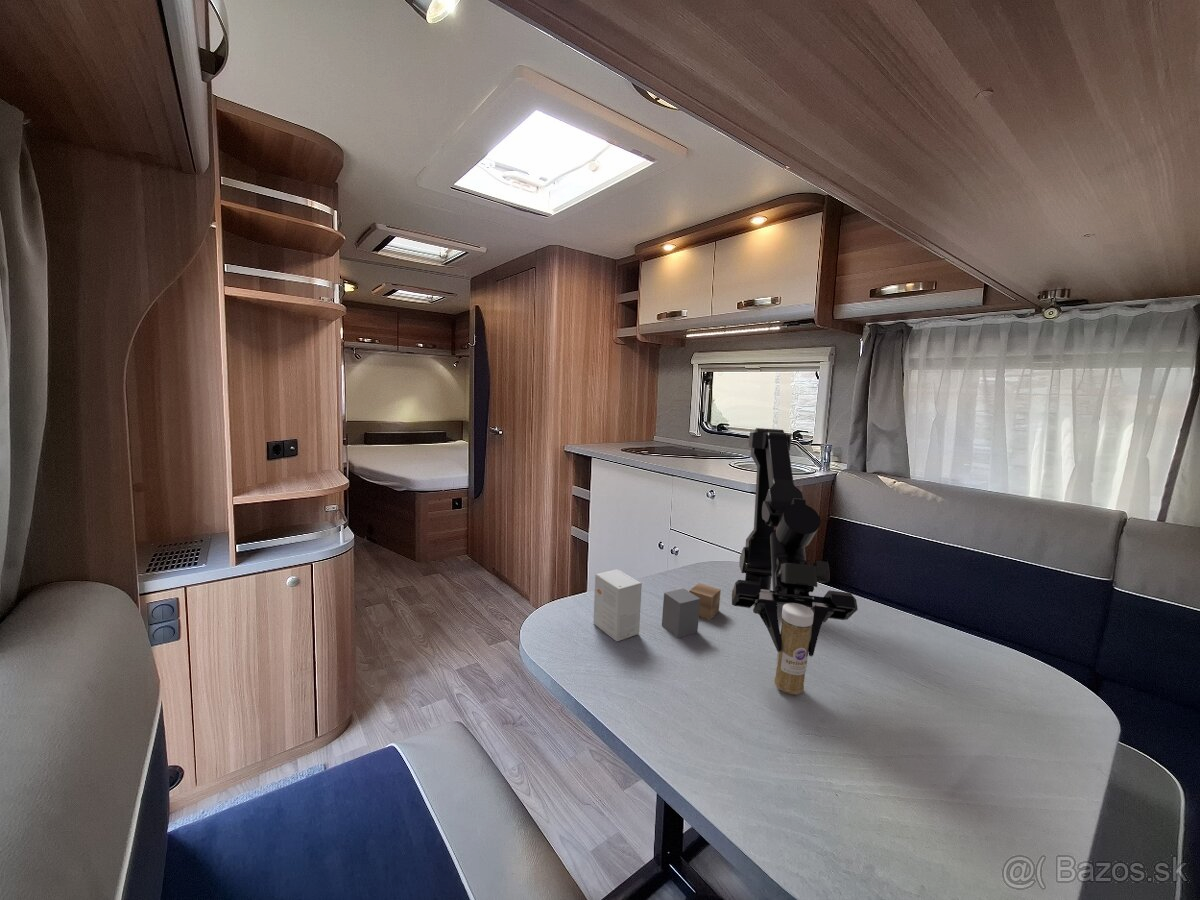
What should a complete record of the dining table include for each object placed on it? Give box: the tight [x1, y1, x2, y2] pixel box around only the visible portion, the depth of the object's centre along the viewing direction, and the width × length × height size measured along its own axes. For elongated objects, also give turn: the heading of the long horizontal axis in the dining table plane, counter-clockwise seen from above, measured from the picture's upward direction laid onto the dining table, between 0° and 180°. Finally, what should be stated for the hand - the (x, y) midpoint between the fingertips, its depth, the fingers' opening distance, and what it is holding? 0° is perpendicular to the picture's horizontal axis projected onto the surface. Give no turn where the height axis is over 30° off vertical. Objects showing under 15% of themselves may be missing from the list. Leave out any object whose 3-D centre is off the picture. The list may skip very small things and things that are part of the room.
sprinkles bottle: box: [773, 603, 814, 695], centre depth 75 cm, size 5×5×13 cm
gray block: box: [661, 587, 700, 638], centre depth 93 cm, size 5×5×7 cm
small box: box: [592, 569, 643, 643], centre depth 91 cm, size 8×6×10 cm
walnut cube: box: [688, 582, 722, 621], centre depth 101 cm, size 5×5×5 cm
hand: (795, 653), depth 73 cm, fingers closed on sprinkles bottle, 4 cm apart
